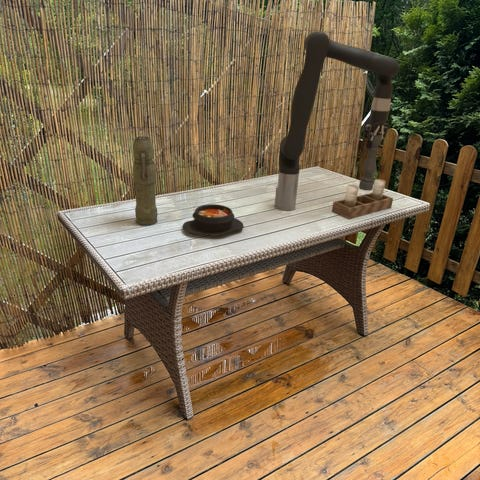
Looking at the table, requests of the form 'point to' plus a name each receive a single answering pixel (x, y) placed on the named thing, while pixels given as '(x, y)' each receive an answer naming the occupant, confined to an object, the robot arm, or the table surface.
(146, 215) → the carved stone statue
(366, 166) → the candle holder
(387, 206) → the wooden candle tray
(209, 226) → the casserole
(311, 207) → the table surface
